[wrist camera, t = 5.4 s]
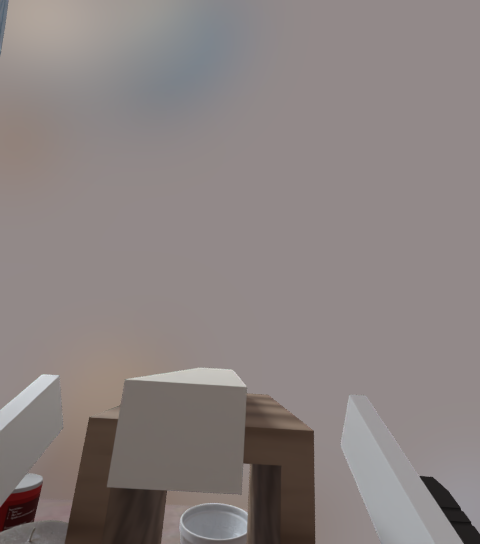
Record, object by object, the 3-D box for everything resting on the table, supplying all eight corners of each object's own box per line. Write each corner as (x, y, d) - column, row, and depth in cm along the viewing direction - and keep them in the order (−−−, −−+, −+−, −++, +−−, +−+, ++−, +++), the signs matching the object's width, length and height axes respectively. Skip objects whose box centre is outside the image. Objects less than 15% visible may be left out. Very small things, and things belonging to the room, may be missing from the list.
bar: (241, 494, 9) (246, 387, 10) (106, 487, 9) (125, 379, 10) (231, 395, 35) (232, 369, 36) (198, 393, 35) (200, 367, 36)
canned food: (-14, 543, 53) (4, 473, 56) (35, 541, 54) (50, 472, 58) (-43, 572, 46) (-20, 489, 49) (14, 568, 47) (33, 488, 50)
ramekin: (224, 537, 59) (227, 497, 62) (267, 576, 49) (269, 526, 51) (163, 558, 52) (168, 511, 54) (198, 609, 42) (203, 549, 44)
